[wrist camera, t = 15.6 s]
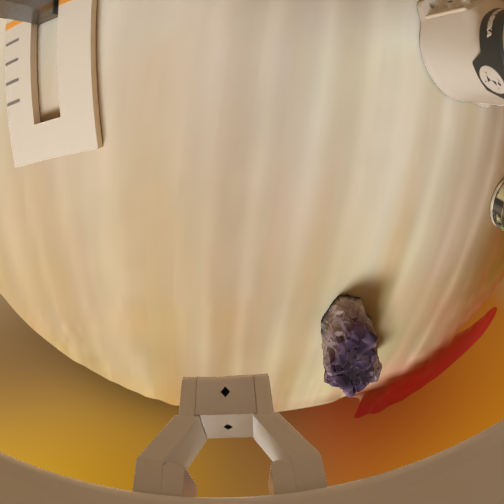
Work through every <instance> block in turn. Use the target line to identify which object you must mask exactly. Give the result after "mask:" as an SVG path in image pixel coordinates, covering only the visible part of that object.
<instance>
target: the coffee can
mask: <svg viewBox="0 0 504 504" xmlns="http://www.w3.org/2000/svg"><path fill="white" fill-rule="evenodd" d="M490 216H491V220H492V222H493V224H494V225H495V226H496V227H499V228H500V229H501V230H503V231H504V179H503V180H502V181H501V182H500V183H499V184H498V186H497V187H496V189H495V191H494V194H493V197H492V200H491V205H490Z"/></svg>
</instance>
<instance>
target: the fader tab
mask: <svg viewBox="0 0 504 504" xmlns="http://www.w3.org/2000/svg"><path fill="white" fill-rule="evenodd" d="M58 3H59V0H0V18H5V19H11V20H17V21H23V22H28V23H33V24H38V25H40V24H42V23H44V22H47V21H49V20H51V19H54V18H56V17H58V9H59V6H58Z"/></svg>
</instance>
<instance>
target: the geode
mask: <svg viewBox="0 0 504 504" xmlns="http://www.w3.org/2000/svg"><path fill="white" fill-rule="evenodd" d="M321 335H322V339H323V341H322V350H323V356H324V359H323V365H324V368H325V373H324V382H326V383H329V384H330V385H331V386H332V387H333V386H335V387H339V388H341V389H343V392H344V393H345V395H346V396H348V397H352V396H355V393H356V391H357V392H360V391H361V390H363V389H364V388H365V387H366V386H367V385H368V384H369V383H371V382H377V381H378V379H379V376H380V372H381V369H382V364H381V362H379V357H378V355H377V339H378V335H376V333H375V331H374V327H373V321H372V318H371V317H369V316H367V315H366V312H365V309H364V305H363V302H362V300H361V299H360V298H359V297H353V296H350V295H347V294H346V295H340V296H338V297H337V298H336V299H335V300H334V301H333V302H332V304H331V305H330V307H329V309H328V310H327V312H326V313H325V314H324V316H323V318H322V320H321Z"/></svg>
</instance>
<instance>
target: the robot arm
mask: <svg viewBox="0 0 504 504" xmlns="http://www.w3.org/2000/svg"><path fill="white" fill-rule="evenodd" d="M430 5H431V6H432V8H431V7H430ZM417 9H418V13H419V17H420V20H421V29H420V48H421V54H422V57H423V61H424V64H425V66H426V68H427V71H428V73H429V74H430V76H431V78H432V79H433V81H434V82H435V84H436V85H437V86H438V87H439V89H440V90H441V91H442V92H444V93H445V94H446V95H447V96H449V97H450V98H452V99H454V100H457V101H460V102H473V103H475V104H476V105H478V106H480V107H482V108H489V107H490V105H491V104H492V105H501V106H504V3H503V2H502V1H501V0H421V1H419V2H418V3H417ZM227 437H254V439H255V440H256V441H257V443H258V444H259V445H260V446H261V448H262V449H263V450H264V451H265V453H266V454H267V455H268V456H269V457H270V458H271V460H272V461H273V463H272V464H271V469H270V477H269V491H270V495H267V496H254V497H231V498H205V497H203V498H202V497H197V485H196V483H195V482H194V481H193V479H192V478H191V476H190V475H189V473H188V472H187V469H188V467H189V466H190V464H191V463H192V461H193V460H194V458H195V457H196V456H197V454H198V453H199V451H200V450H201V448H202V447H203V445H204V444H205V442H206V440H207V438H227ZM0 504H504V419H503V420H501V421H500V422H498V423H496V424H495V425H493V426H491V427H489V428H488V429H486V430H484V431H482V432H480V433H478V434H477V435H475V436H473V437H471V438H469V439H467V440H465V441H463V442H461V443H459V444H457V445H455V446H452V447H450V448H448V449H446V450H444V451H441V452H439V453H437V454H434V455H432V456H430V457H427V458H425V459H422V460H420V461H417V462H414V463H411V464H409V465H406V466H403V467H400V468H397V469H394V470H391V471H388V472H385V473H381V474H378V475H375V476H371V477H367V478H364V479H360V480H356V481H352V482H348V483H343V484H339V485H334V486H329V487H328V486H327V481H326V476H325V472H324V467H323V463H322V458H321V454H320V453H319V452H318V451H317V450H316V449H315V448H314V447H313V446H312V445H311V444H310V443H309V442H308V441H307V440H306V439H305V438H304V437H303V436H302V435H301V434H299V433H298V432H297V431H296V430H295V429H294V428H293V427H292V426H291V425H290V424H289V423H288V422H287V421H286V420H285V419H284V418H283V417H282V416H281V415H280V414H279V413H278V412H274V410H273V403H272V396H271V388H270V381H269V376H268V374H257V375H253V374H252V375H238V376H225V377H183V380H182V386H181V396H180V407H179V415H175V416H174V417H173V418H172V419H171V420H170V421H169V423H168V424H167V425H166V426H165V427H164V428H163V430H162V431H161V432H160V433H159V434H158V435H157V436H156V437H155V438H154V440H153V441H152V442H151V443H150V444H149V445H148V446H147V448H146V449H145V450H144V451H143V452H142V453H141V454H140V455H139V456H138V457H137V461H136V469H135V476H134V484H133V491H128V490H122V489H117V488H112V487H107V486H102V485H97V484H92V483H89V482H85V481H81V480H77V479H73V478H69V477H66V476H63V475H59V474H56V473H53V472H50V471H47V470H44V469H41V468H38V467H36V466H33V465H30V464H28V463H25V462H22V461H20V460H17V459H15V458H13V457H10V456H8V455H6V454H3V453H1V452H0Z"/></svg>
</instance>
